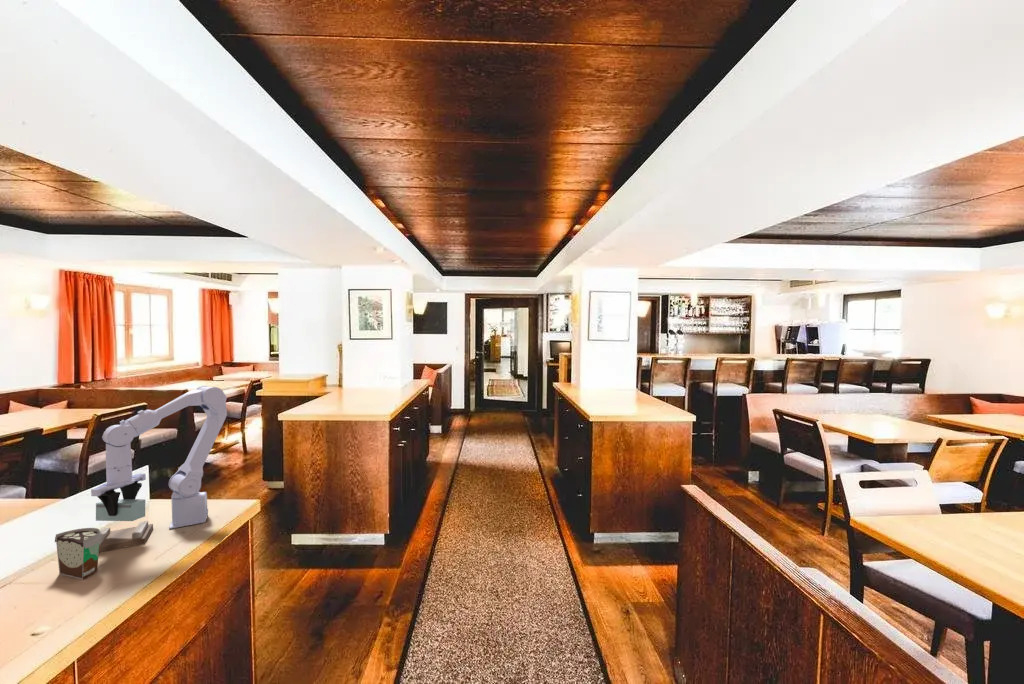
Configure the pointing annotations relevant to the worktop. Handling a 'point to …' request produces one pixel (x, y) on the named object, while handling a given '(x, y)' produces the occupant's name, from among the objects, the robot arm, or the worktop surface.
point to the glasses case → (122, 510)
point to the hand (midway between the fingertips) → (120, 512)
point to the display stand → (125, 537)
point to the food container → (78, 552)
